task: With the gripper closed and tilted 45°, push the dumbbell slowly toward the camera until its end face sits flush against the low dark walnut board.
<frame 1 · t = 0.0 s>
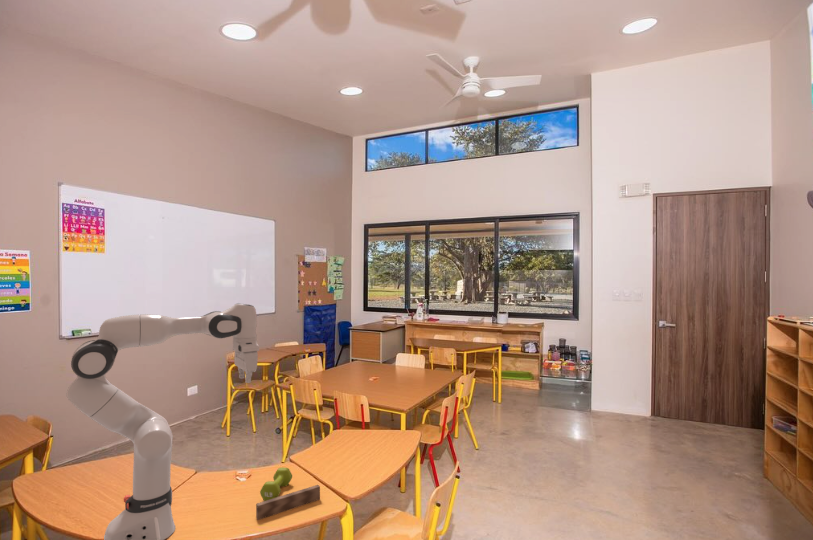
hand: (244, 380, 161), 48 cm above the table, tool pointing down, fingers open, 8 cm apart
walnut board: (289, 508, 157), on the table
dumbbell: (276, 493, 169), on the table
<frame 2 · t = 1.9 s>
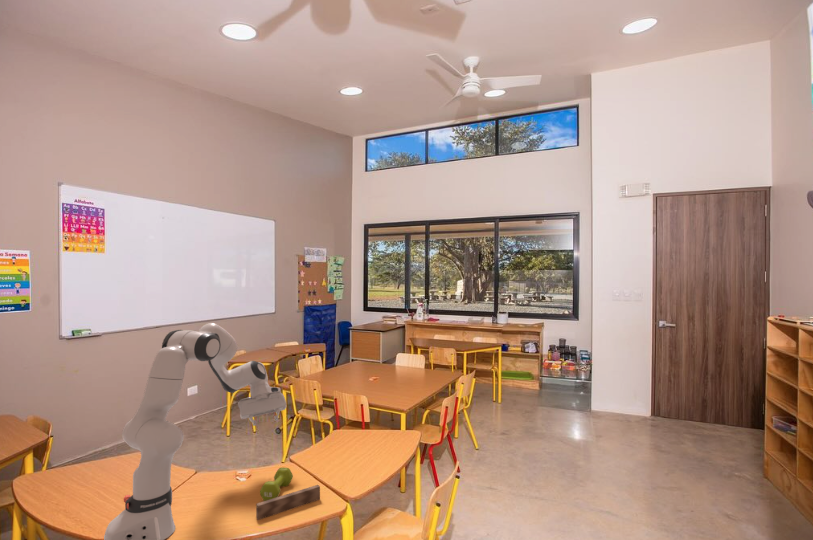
hand: (266, 422, 185), 24 cm above the table, tool tilted 40°, fingers open, 8 cm apart
nothing on the table moved.
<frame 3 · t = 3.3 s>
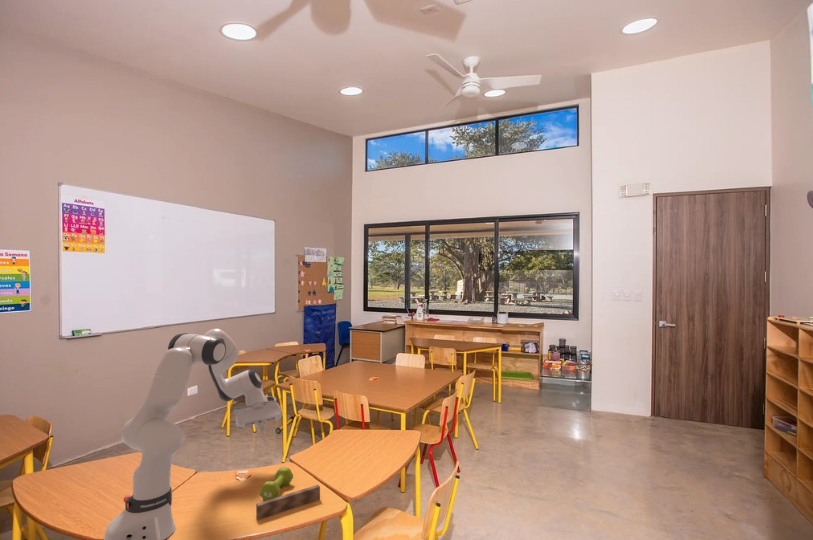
hand: (262, 430, 186), 19 cm above the table, tool tilted 45°, fingers closed
nothing on the table moved.
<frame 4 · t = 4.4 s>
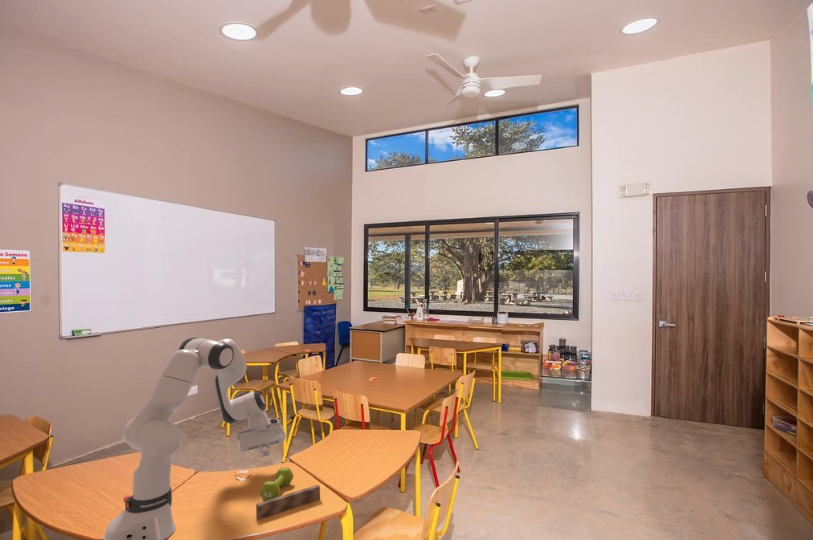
hand: (265, 455, 182), 10 cm above the table, tool tilted 45°, fingers closed
nothing on the table moved.
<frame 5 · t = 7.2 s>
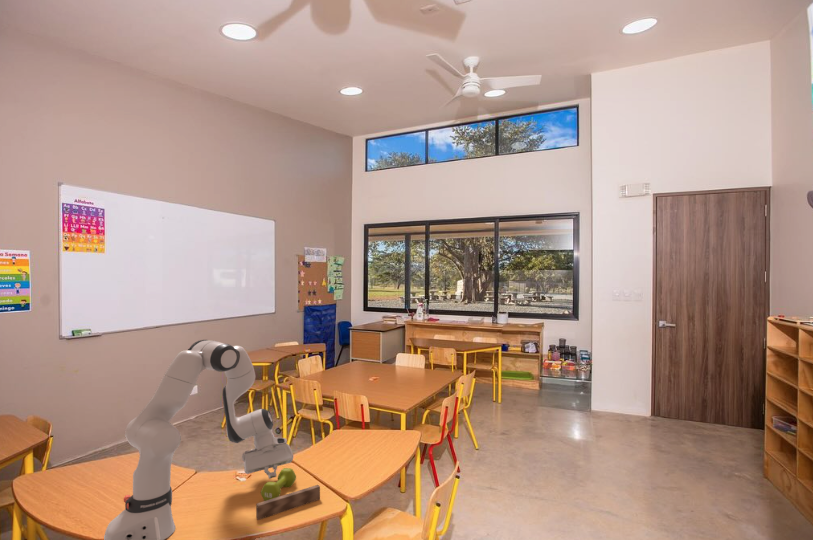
hand: (272, 477, 173), 4 cm above the table, tool tilted 45°, fingers closed
dumbbell: (279, 494, 168), on the table
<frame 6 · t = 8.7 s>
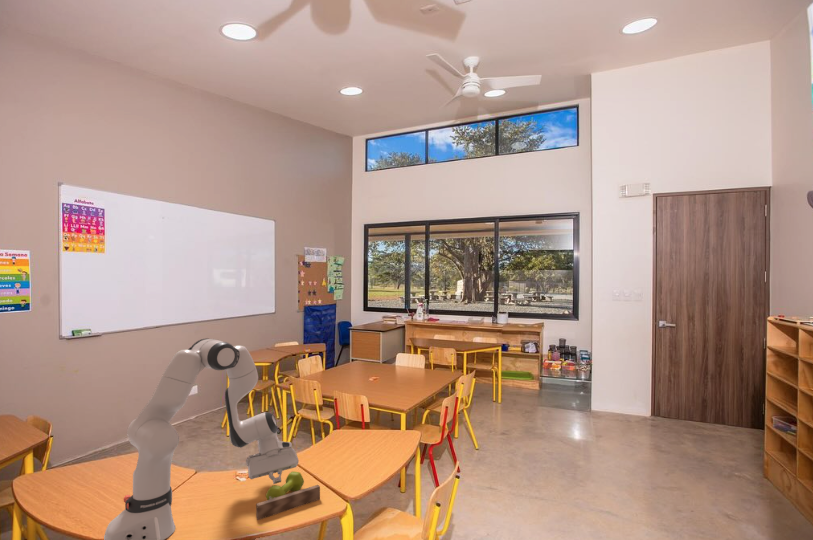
hand: (277, 482, 168), 4 cm above the table, tool tilted 45°, fingers closed
dumbbell: (285, 498, 165), on the table
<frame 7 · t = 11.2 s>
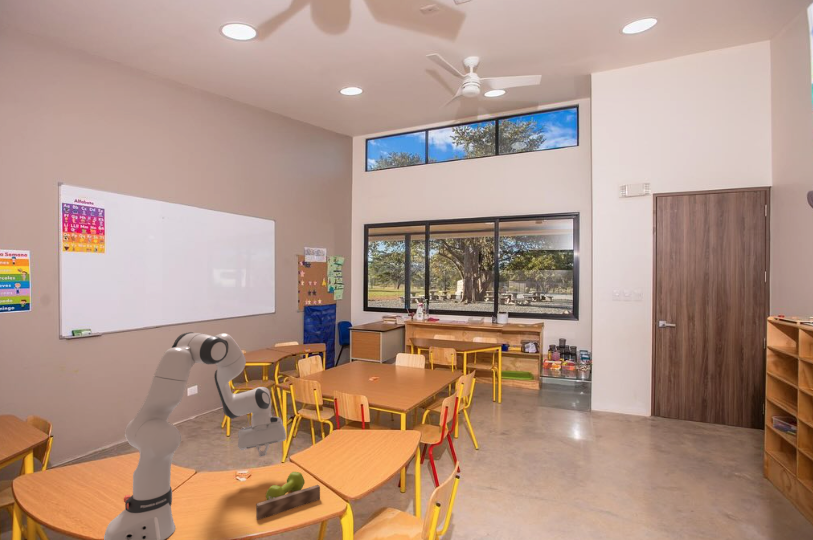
hand: (262, 455, 179), 11 cm above the table, tool tilted 35°, fingers closed
nothing on the table moved.
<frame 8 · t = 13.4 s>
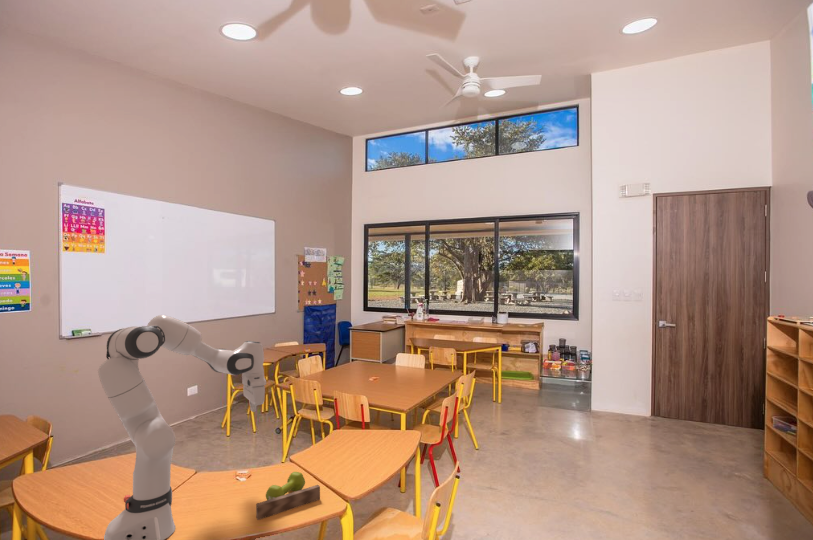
hand: (253, 410, 177), 31 cm above the table, tool pointing down, fingers closed
nothing on the table moved.
at the end: dumbbell 1.8 cm from the target spot on the table beside the walnut board, on the table; dumbbell tilted 0° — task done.
